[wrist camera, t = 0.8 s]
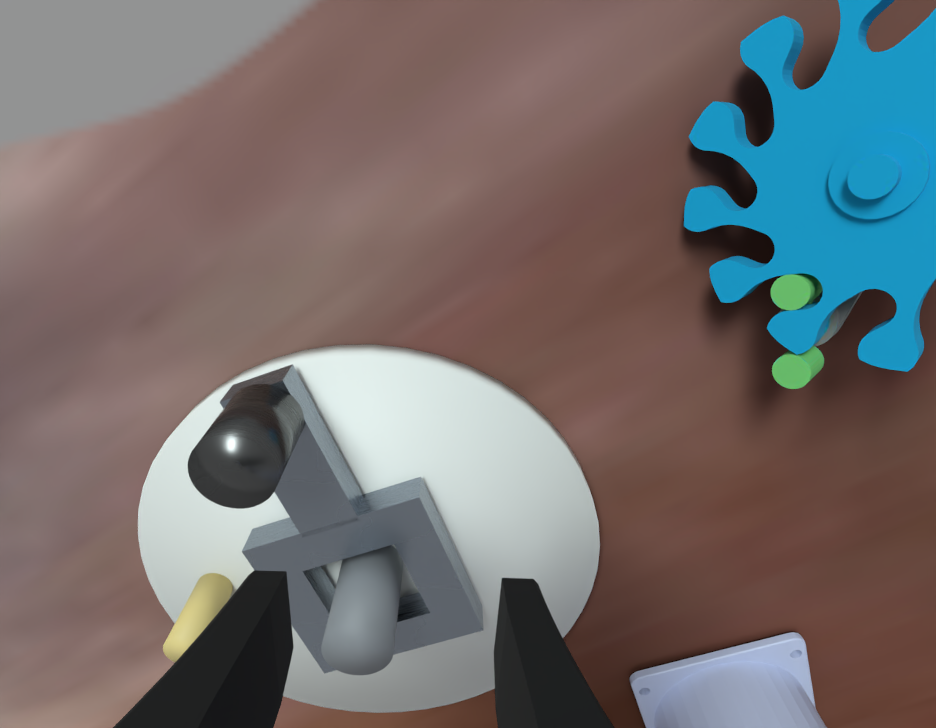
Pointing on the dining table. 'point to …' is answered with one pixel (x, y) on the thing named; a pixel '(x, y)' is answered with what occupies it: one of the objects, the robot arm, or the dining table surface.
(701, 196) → the gear
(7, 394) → the dining table surface
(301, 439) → the crank handle
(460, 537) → the base plate
